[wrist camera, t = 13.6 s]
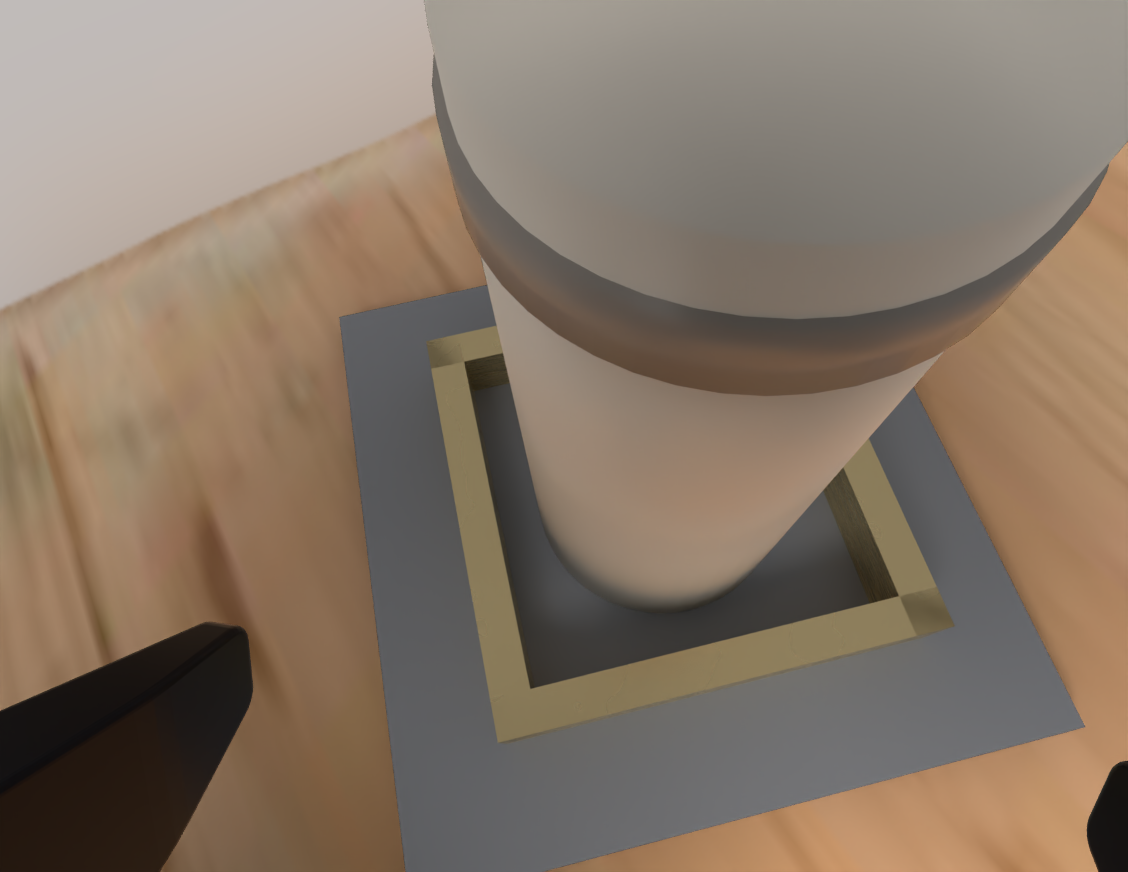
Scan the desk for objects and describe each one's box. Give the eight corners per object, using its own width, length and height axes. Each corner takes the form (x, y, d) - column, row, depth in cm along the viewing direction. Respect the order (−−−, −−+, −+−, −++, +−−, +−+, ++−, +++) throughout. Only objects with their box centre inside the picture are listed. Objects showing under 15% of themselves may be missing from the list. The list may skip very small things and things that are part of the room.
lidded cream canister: (817, 582, 16) (1389, 148, 4) (566, 646, 15) (487, 351, 4) (732, 365, 18) (962, -285, 7) (512, 415, 18) (368, -179, 6)
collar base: (1067, 727, 15) (1136, 724, 13) (417, 901, 14) (388, 923, 12) (818, 225, 21) (840, 172, 19) (346, 329, 20) (319, 284, 18)
